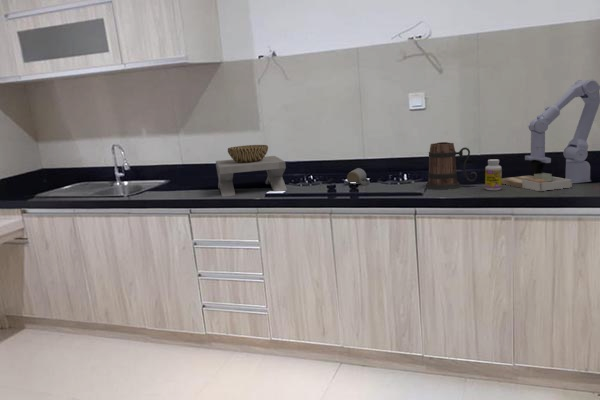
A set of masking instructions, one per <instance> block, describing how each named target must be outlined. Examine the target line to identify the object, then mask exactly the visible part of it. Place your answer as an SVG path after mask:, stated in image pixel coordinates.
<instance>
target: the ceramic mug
mask: <svg viewBox="0 0 600 400" xmlns="http://www.w3.org/2000/svg"><path fill="white" fill-rule="evenodd" d="M346 180H347V183H348V184H349V183H350V182H356V183H358V185H364V186H369V185H370V183H371V182H370V180H369V179H368V178H367V173H366V171H365V170H364V169H362V168H360V167H357V168H355V169H353V170H351V171H350V172H348V174H347V175H346Z"/></svg>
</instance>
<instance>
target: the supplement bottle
mask: <svg viewBox="0 0 600 400" xmlns="http://www.w3.org/2000/svg"><path fill="white" fill-rule="evenodd" d="M499 163H500V159H495V158H494V159H488V160H487V165H486V166H485V169H484V170H485V173H484V176H485V177H484V185H485V186H484V188H485V190H487V191H499V190H501V189H502V186H503V184H502V178H503V177H502V175H503V174H502V173H503V171H502V169H503V167H502V166H501V165H500V164H499Z"/></svg>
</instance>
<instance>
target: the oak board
mask: <svg viewBox="0 0 600 400" xmlns="http://www.w3.org/2000/svg"><path fill="white" fill-rule="evenodd" d="M533 179H534V175H529V174H528V175H521V176H514V177H513V176H512V177H511V176H510V177H504V178H503V177H502V185H505V184H506V185H505V186H510V185H511V186H510V187H514V186H515V188H519V187H520V189H523V188H522V180H527V181H529V180H533ZM548 182H551V181H548Z"/></svg>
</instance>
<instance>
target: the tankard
mask: <svg viewBox="0 0 600 400" xmlns="http://www.w3.org/2000/svg"><path fill="white" fill-rule="evenodd" d="M464 150H466V151H467V156H466V158H465V159H464V157H465V156H463V151H464ZM457 155H458V156H459V157H460V158H461V159H464V163H463V166H462V167H463V170H462V171H463V175H464V178H465V179H466V180H467V181H468V182H474V181H476V180H477V179H478V173H477V172H476V171H471V172H470V174H469V175H470V176H468V175H467V171H466V164H467V162H468V160H469V158H470V155H471V151H470V149H469V148H468V147H465V146H464V147H462V148H461V149H460V150H459V151H456V149H455V144H454V142H448V141H447V142H446V141H444V142H443V141H441V142H435V143H430V145H429V152H428V175H427V177H428V181H427V182H426V183H425V185H424V187H425V186H426V188H428V189H427V190H431V189H432V190H433V191H449V190H448V189H451V190H457V189H460V188H462V185H461V184H460V182H459V181H458V172H457V161H456V160H457V158H456V157H457ZM472 175H473V176H472ZM469 177H471V178H469ZM426 188H425V189H426Z"/></svg>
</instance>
